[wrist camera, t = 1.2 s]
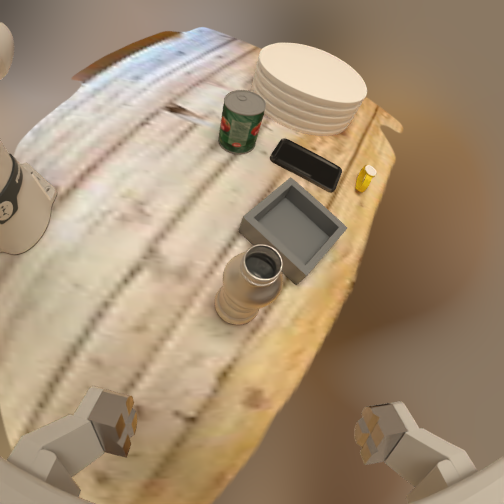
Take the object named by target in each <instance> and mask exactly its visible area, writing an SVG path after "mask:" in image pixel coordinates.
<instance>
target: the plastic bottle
mask: <svg viewBox="0 0 504 504" xmlns="http://www.w3.org/2000/svg"><path fill="white" fill-rule="evenodd" d="M282 267H283V261H282V258H281V255H280V254H279V252H278V251H277V250H276V249H274V248H273V247H271V246H269V245H265V244H258V245H254V246H252V247H250V248H249V249H248V250H247V251H246V252H243V253H241V254H239V255H237V256H235V257H233V258H232V259H231V260H230V261H229V262H228V263H227V265H226V267H225V269H224V273H223V286H222V287H221V288H220V289H219V291H218V292H217V294H216V297H215V308H216V311H217V313H218V314H219V316H220V317H221V318H222V319H223V320H224V321H226V322H228V323H231V324H237V325H240V324H245V323H248V322H250V321H251V320H252V319H254V318H255V316H256V315H257V313H258V311H259V309H260V308H262V307H265V306H267V305H269V304H270V303H272V302H273V301H274V300H276V299H277V297H278V296H279V294H280V292H281V290H282V285H283V275H282Z"/></svg>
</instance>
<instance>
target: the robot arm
mask: <svg viewBox="0 0 504 504" xmlns="http://www.w3.org/2000/svg"><path fill="white" fill-rule="evenodd" d="M13 55H14V41H13V37H12V34H11V32H10V30H9V29H8V27H7V26H5V25H4V24H3V23H1V22H0V80H1V79H2V78H3V77H4V76H5V75H6V74H7V73H8V71H9V69H10V66H11V63H12V59H13ZM56 195H57V190H56V189H55V188H54V187H53V186H52V185H51V184H50V183H48V182H47V181H46V180H45V179H44V178H43V177H42V176H41V175H40V174H39V173H38V172H36V171H35V170H34V169H33V168H32V167H31V166H30V165H29V164H28V163H23V164H20V163H19V162H18V161H17V160H16V159H15V158H14V157H13V156H12V155H11V154H9V153H8V152H7V150H6V149H5V147H4V145H3V143H2V142H1V140H0V252H6V253H9V254H20V253H23V252H25V251H27V250H28V249H30V248H31V247H32V246H33V245H34V244H35V243H36V242H37V241H38V240H39V239H40V238H41V236H42V235H43V233H44V231H45V229H46V227H47V225H48V222H49V219H50V214H51V207H52V204H53V202H54V200H55V198H56ZM133 405H134V401H133V397H132V396H130V395H126V394H122V393H118V392H114V391H111V390H107V389H103V388H99V387H96V386H92V387H90V388H89V390H88V391H87V393H86V395H85V396H84V398H83V399H82V401H81V403H80V405H79V406H78V408H77V410H76V411H75V413H74V415H71V414H69V415H67V416H65V417H63V418H61V419H58V420H56V421H54V422H52V423H50V424H48V425H46V426H43V427H41V428H39V429H37V430H34V431H32V432H30V433H28V434H25V435H23V436H21V438H20V439H19V441H18V443H17V444H16V446H15V447H14V449H13V451H12V452H11V454H10V456H9V457H8V459H7V460H5V459H4V458H2V457H1V456H0V504H95V503H93V502H90V501H87V500H85V499H82V498H79V494H80V491H81V490H80V488H79V486H78V485H77V484H76V483H75V481H74V480H73V479H72V477H73V476H74V475H75V474H77V473H78V472H80V471H81V470H82V469H84V468H85V467H87V466H88V465H89V464H91V463H92V462H93V461H95V460H96V459H97V458H99V457H100V456H101V455H103V454H104V452H106V453H110V454H114V455H118V456H122V457H126V458H127V455H128V452H129V449H130V446H131V442H130V437H132V436H133V435H134V434H135V431H136V427H137V413H136V411H135V410H134V409H133V408H132V407H133ZM362 416H363V418H361V419H360V420H359V421H357V424H356V426H355V431H354V435H355V440H356V443H357V444H358V445H360V446H361V447H362V449H361V451H360V453H361V456H362V459H363V461H364V464H365V465H368V464H373V463H378V462H383V461H385V463H386V464H387V465H388V466H390V467H391V468H392V469H393V470H394V471H396V472H397V473H398V474H399V475H400V476H402V477H403V478H404V479H405V480H406V481H408V482H409V483H410V484H412V485H413V486H414V487H415V488H414V489H413V490H412V491H411V492H410V493H409V494H408V495H407V496H406V499H407V501H408V504H504V456H503V457H501V458H500V459H498V460H497V461H495V462H494V463H492V464H490V465H489V466H487V467H485V468H484V469H482V470H480V471H477V469H476V467H475V466H474V464H473V463H472V461H471V459H470V458H469V456H468V455H467V453H466V452H465V451H464V450H462V449H461V448H459V447H456V446H454V445H453V444H451V443H449V442H447V441H445V440H443V439H441V438H439V437H438V436H436V435H434V434H432V433H430V432H429V431H426V430H425V429H423V428H421V429H419V427H418V426H417V424H416V422H415V421H414V419H413V417H412V416H411V414H410V412H409V411H408V410H407V408H406V406H405V404H404V403H403V402H401V401H400V402H394V403H387V404H381V405H374V406H367V407H365V408H364V410H363V412H362Z"/></svg>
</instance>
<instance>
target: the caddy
mask: <svg viewBox="0 0 504 504" xmlns="http://www.w3.org/2000/svg"><path fill="white" fill-rule="evenodd" d="M346 229H347V227H346V226H345V225H344V224H343V223H342V222H341V221H340V220H338V219H337V218H336V217H335V216H334V215H333V214H332V213H331V212H330V211H329V210H328V209H326V208H325V207H324V206H323V205H322V204H321V203H320V202H319V201H317V200H316V199H315V198H314V197H313V196H312V195H311V194H310V193H308V192H307V191H306V190H305V189H304V188H303V187H301V186H300V185H299V184H298V183H297V182H296V181H294V180H293V179H292V178H289V179H288V180H287V181H286V182H284V183H283V184H282V185H281V186H280V187H278V188H277V189H276V190H275V191H273V192H272V193H271V194H270V195H269V196H267V197H266V198H265V199H264V200H263V201H261V202H260V203H259V204H258V205H257V206H255V207H254V208H253V209H252V210H251V211H249V212H248V213H247V214H246V215H245V216H243V218H242V222H241V225H240V228H239V232H240V233H241V234H242V235H243V236H244V237H245V238H246V239H247V240H249V241H250V242H251V243H252V244H253V245H258V244H265V245H269V246H271V247H273V248H274V249H276V250H277V251H278V252H279V254H280V255H281V258H282V261H283V267H282V272H283V273H284V274H285V275H286V276H287V277H288V278H289V279H290V280H291V281H292V282H293V283H294V284H295V285H297V284H298V283H299V282H300V281H301V280H303V279H304V278H305V277H306V276H307V275H308V274H309V273H310V272H311V270H312V269H313V268H314V267H315V266H316V265H317V263H318V262H319V261H320V260H321V259H322V258H323V256H324V255H325V254H326V253H327V252H328V251H329V249H330V248H331V247H332V246H333V245H334V244H335V242H336V241H337V240H338V239H339V238H340V236H341V235H342V234H343V233H344V232H345V230H346Z"/></svg>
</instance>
